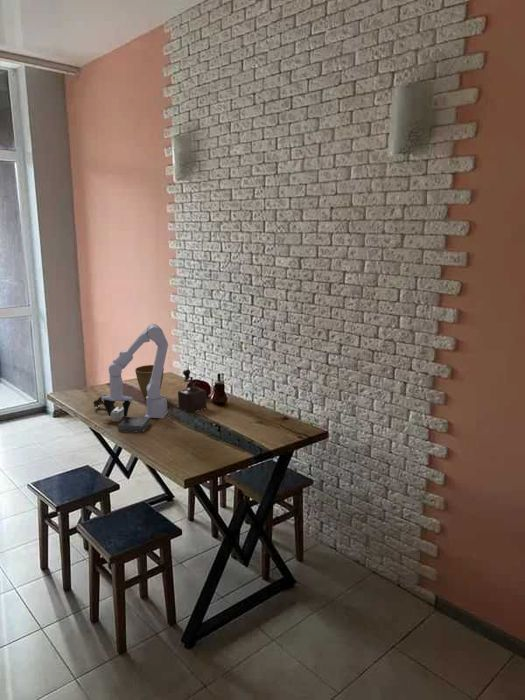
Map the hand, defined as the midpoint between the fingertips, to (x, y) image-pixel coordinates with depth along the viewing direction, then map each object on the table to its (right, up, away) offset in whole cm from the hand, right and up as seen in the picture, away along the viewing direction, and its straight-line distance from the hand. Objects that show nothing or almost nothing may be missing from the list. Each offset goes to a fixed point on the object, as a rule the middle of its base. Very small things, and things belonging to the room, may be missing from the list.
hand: (118, 415), depth 257 cm
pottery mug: (-10, +1, +15) cm, 18 cm away
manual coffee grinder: (+32, +2, +16) cm, 36 cm away
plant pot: (+9, +6, +33) cm, 34 cm away
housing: (0, -2, 0) cm, 2 cm away
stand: (+11, -4, -12) cm, 16 cm away
